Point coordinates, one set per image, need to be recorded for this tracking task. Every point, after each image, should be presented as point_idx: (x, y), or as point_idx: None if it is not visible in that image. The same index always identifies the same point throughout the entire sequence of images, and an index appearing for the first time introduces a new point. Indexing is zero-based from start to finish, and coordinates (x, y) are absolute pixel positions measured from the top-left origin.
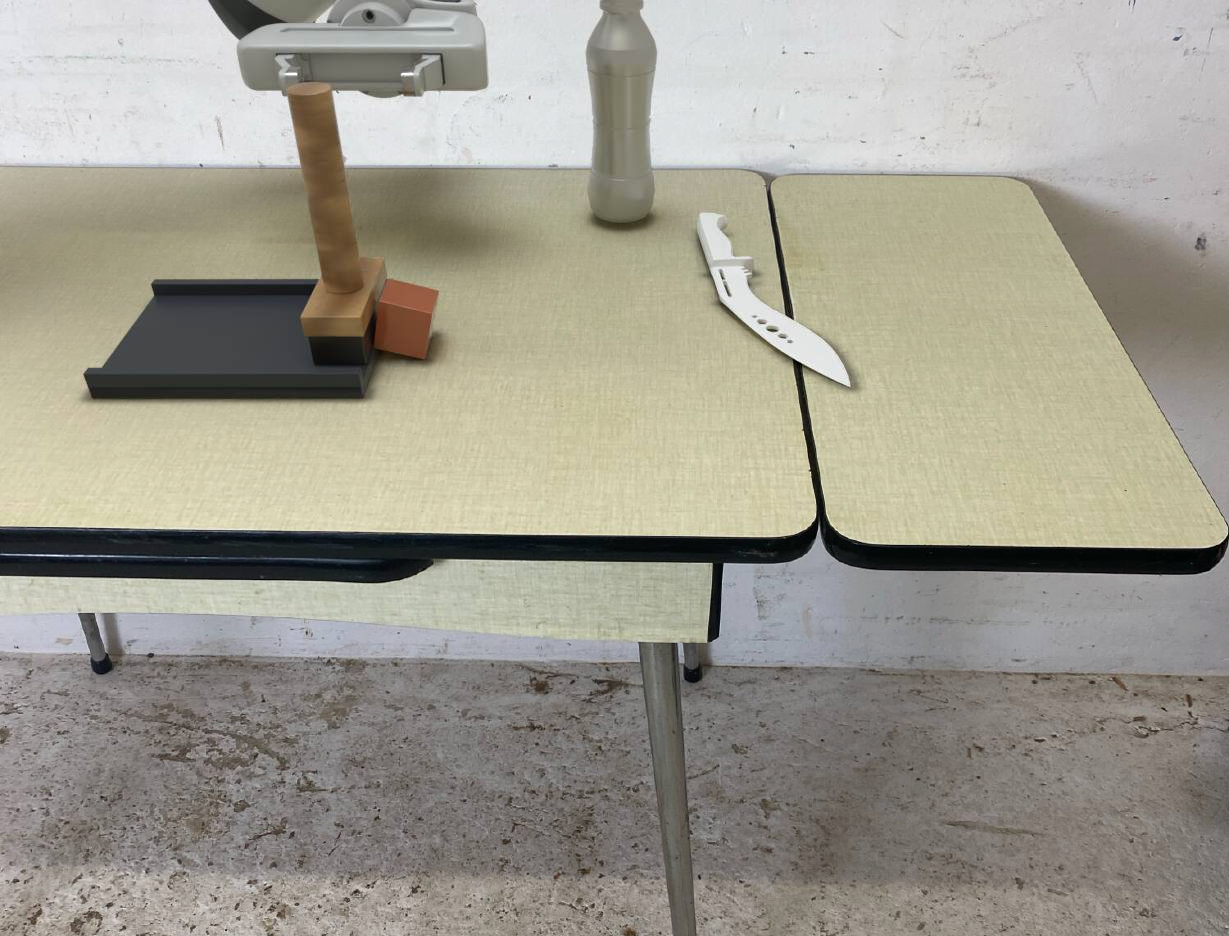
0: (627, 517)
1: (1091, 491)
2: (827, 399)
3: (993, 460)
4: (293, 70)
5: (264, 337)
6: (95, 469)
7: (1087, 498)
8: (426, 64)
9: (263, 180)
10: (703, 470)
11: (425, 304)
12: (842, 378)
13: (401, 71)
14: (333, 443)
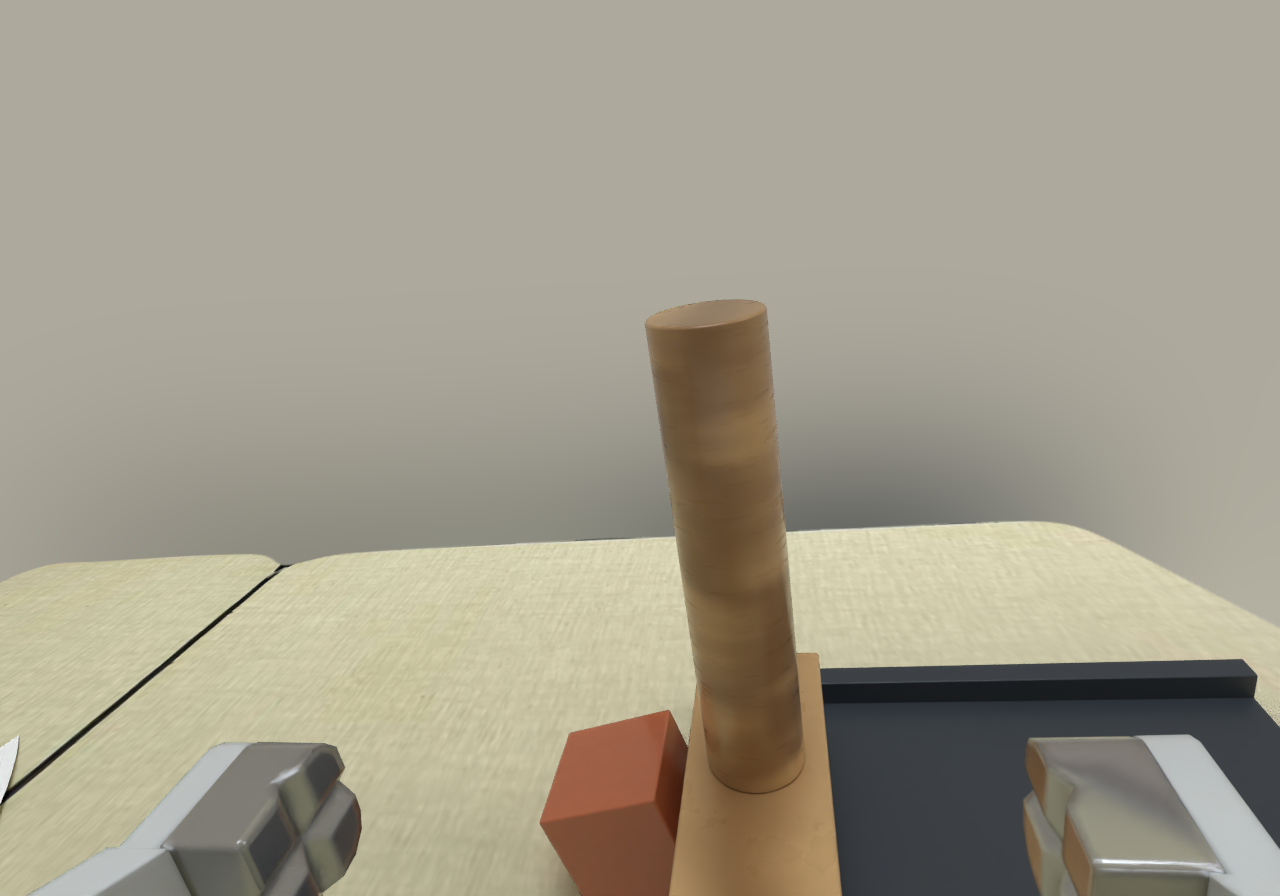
0: (442, 561)
1: (32, 602)
2: (76, 714)
3: (51, 630)
4: (1098, 772)
5: (982, 840)
6: (1050, 579)
7: (47, 596)
8: (54, 886)
9: None
10: (331, 608)
11: (577, 751)
12: (4, 749)
13: (302, 765)
14: None
